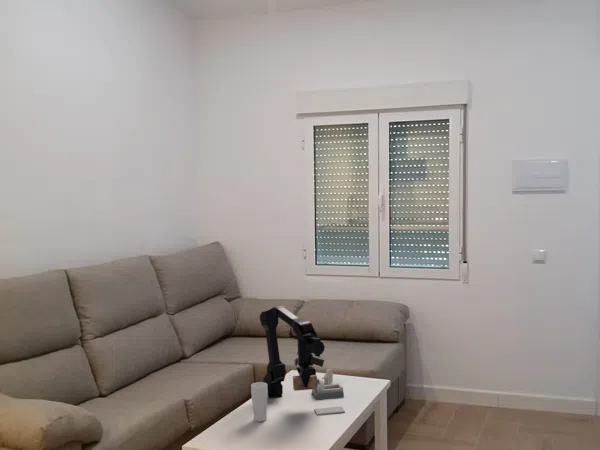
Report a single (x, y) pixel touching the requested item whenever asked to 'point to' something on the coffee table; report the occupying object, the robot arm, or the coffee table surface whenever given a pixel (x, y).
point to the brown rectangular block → (300, 386)
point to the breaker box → (329, 391)
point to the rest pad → (329, 410)
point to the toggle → (320, 385)
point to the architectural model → (328, 377)
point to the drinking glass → (259, 400)
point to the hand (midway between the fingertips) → (305, 385)
